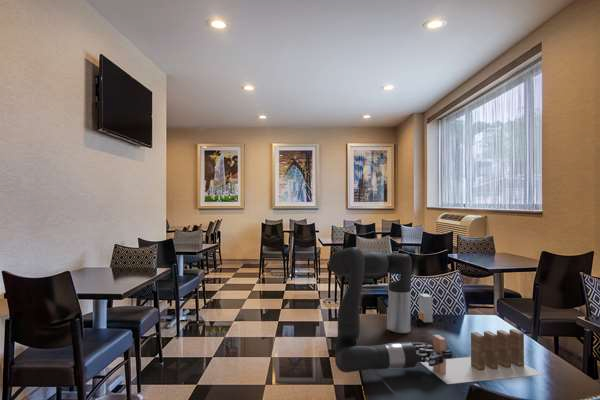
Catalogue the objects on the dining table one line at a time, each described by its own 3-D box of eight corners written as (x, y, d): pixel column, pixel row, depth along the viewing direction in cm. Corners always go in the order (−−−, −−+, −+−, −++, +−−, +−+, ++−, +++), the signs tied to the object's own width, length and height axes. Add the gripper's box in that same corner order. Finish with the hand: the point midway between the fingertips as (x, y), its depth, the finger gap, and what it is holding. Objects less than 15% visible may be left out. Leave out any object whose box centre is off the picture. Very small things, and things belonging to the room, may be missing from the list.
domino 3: (505, 368, 118) (505, 334, 119) (497, 362, 122) (496, 330, 122) (511, 367, 119) (510, 334, 119) (502, 362, 123) (501, 330, 123)
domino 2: (492, 369, 117) (492, 335, 118) (484, 364, 121) (483, 331, 122) (497, 368, 118) (497, 335, 118) (489, 363, 122) (489, 331, 122)
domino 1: (479, 370, 116) (478, 336, 117) (471, 365, 120) (470, 332, 121) (484, 370, 117) (484, 336, 117) (476, 364, 121) (476, 331, 121)
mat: (447, 386, 108) (447, 384, 108) (419, 363, 123) (419, 361, 123) (543, 376, 114) (543, 374, 114) (505, 355, 130) (505, 353, 130)
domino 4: (518, 366, 119) (518, 333, 120) (509, 361, 123) (509, 329, 123) (524, 366, 120) (523, 333, 120) (514, 361, 124) (514, 329, 124)
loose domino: (440, 374, 114) (440, 339, 114) (433, 368, 118) (433, 335, 118) (445, 373, 114) (445, 339, 114) (438, 368, 118) (438, 334, 118)
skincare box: (418, 318, 173) (418, 293, 173) (427, 318, 173) (427, 293, 173) (424, 322, 167) (424, 296, 167) (432, 322, 167) (432, 296, 167)
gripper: (409, 352, 106) (461, 348, 110) (388, 335, 120) (434, 332, 124) (409, 377, 106) (461, 372, 110) (388, 358, 120) (434, 354, 123)
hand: (446, 351), depth 117 cm, fingers closed on loose domino, 4 cm apart
